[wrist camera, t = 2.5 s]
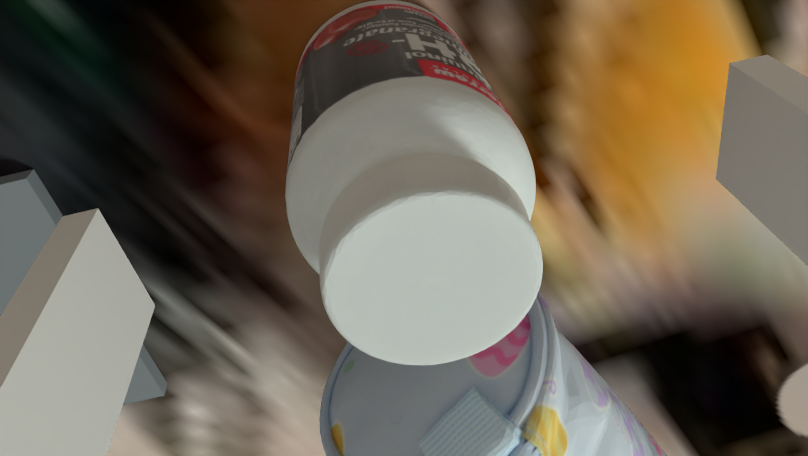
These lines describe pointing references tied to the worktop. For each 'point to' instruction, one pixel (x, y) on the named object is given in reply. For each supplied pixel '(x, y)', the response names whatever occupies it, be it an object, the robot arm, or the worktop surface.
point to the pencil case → (481, 403)
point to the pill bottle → (409, 188)
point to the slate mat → (21, 244)
